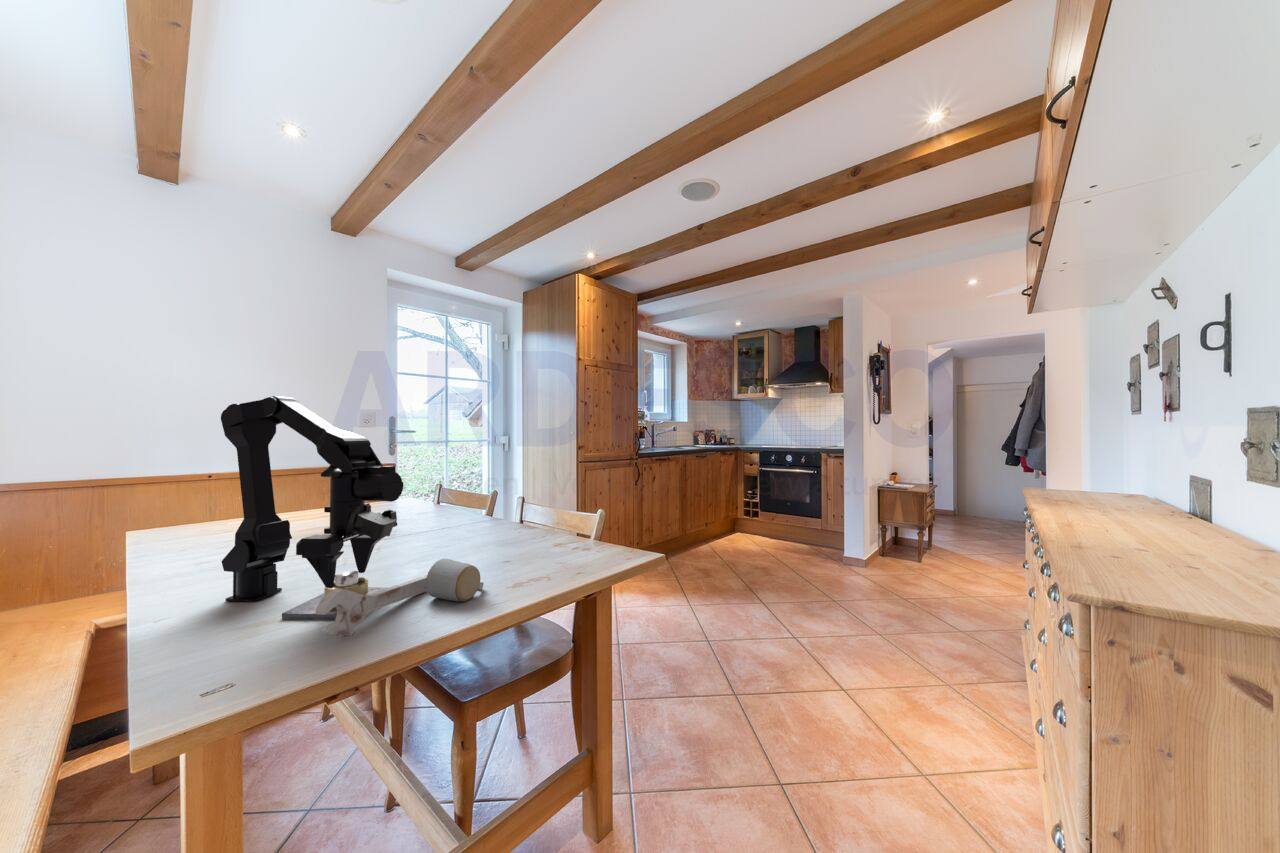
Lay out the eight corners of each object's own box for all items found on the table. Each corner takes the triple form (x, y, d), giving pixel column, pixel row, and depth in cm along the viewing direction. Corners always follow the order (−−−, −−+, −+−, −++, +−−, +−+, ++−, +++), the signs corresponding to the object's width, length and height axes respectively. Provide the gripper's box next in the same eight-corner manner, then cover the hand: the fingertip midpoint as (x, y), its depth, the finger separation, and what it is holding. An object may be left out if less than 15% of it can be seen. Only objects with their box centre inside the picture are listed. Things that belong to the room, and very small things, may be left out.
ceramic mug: (457, 608, 85) (458, 567, 86) (424, 602, 88) (425, 563, 88) (493, 590, 95) (493, 554, 96) (462, 586, 98) (463, 551, 98)
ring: (315, 601, 84) (315, 589, 84) (341, 589, 91) (341, 577, 91) (352, 602, 83) (352, 589, 84) (375, 589, 90) (375, 577, 91)
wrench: (434, 600, 97) (321, 650, 68) (427, 600, 97) (310, 649, 68) (437, 562, 98) (327, 595, 69) (429, 562, 99) (316, 594, 69)
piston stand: (281, 619, 80) (282, 585, 80) (336, 591, 94) (336, 563, 94) (358, 619, 80) (358, 586, 80) (401, 592, 94) (402, 563, 94)
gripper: (356, 508, 78) (355, 597, 78) (413, 493, 97) (412, 566, 96) (294, 507, 78) (292, 597, 78) (362, 493, 97) (361, 565, 97)
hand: (346, 579), depth 87 cm, fingers open, 9 cm apart
